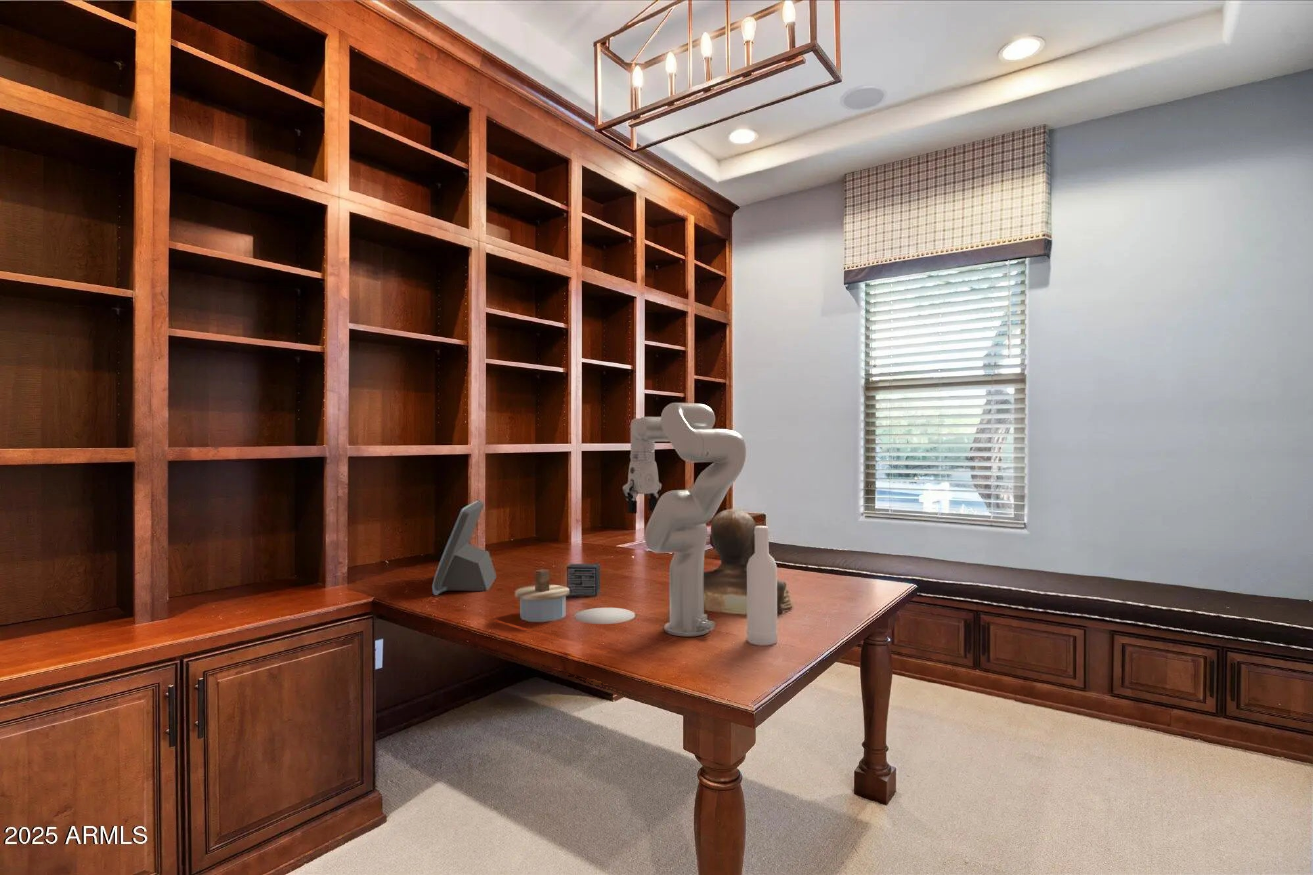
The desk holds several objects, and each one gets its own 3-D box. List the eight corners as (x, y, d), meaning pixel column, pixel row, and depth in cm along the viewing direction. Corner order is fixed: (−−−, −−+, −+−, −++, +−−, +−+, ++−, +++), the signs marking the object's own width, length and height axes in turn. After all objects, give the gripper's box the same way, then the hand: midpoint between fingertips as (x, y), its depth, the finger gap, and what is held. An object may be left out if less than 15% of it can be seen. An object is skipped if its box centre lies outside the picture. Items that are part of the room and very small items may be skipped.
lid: (580, 593, 193) (580, 569, 193) (538, 603, 181) (538, 578, 181) (545, 585, 204) (545, 563, 204) (503, 594, 191) (503, 571, 191)
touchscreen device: (447, 575, 254) (450, 499, 255) (498, 575, 256) (501, 500, 257) (426, 596, 219) (429, 508, 220) (485, 596, 222) (488, 509, 222)
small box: (600, 593, 222) (600, 563, 222) (597, 598, 216) (597, 566, 216) (570, 593, 223) (570, 562, 224) (566, 597, 217) (566, 566, 217)
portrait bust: (780, 619, 189) (779, 514, 190) (672, 606, 205) (672, 509, 205) (798, 603, 208) (797, 508, 208) (698, 592, 224) (698, 503, 224)
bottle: (756, 634, 174) (756, 523, 175) (782, 640, 169) (782, 526, 170) (741, 641, 168) (740, 526, 168) (767, 647, 163) (767, 529, 163)
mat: (647, 616, 193) (647, 614, 193) (605, 629, 179) (605, 627, 179) (604, 606, 205) (604, 604, 205) (561, 618, 191) (561, 616, 191)
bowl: (574, 616, 193) (574, 593, 193) (540, 626, 183) (539, 601, 183) (545, 609, 201) (545, 587, 201) (511, 618, 191) (511, 594, 191)
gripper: (633, 458, 194) (633, 515, 193) (669, 457, 207) (669, 510, 207) (614, 458, 198) (615, 513, 198) (651, 456, 212) (651, 509, 212)
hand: (642, 511), depth 202 cm, fingers open, 9 cm apart
